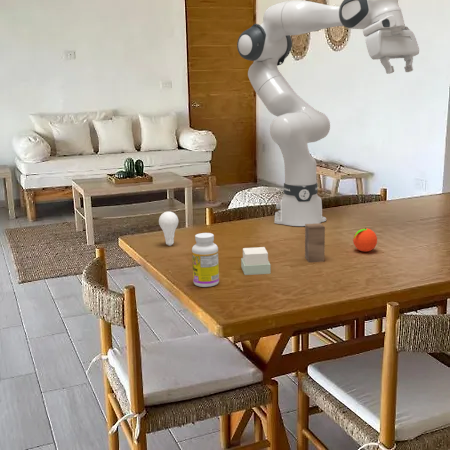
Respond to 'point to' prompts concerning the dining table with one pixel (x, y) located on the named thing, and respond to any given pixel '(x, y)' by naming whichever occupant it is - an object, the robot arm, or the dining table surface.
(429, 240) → the dining table surface
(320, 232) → the walnut post
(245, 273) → the tower base
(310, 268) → the dining table surface
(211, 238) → the supplement bottle
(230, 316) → the dining table surface
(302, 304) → the dining table surface
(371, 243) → the clementine
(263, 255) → the tower cap
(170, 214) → the lightbulb
